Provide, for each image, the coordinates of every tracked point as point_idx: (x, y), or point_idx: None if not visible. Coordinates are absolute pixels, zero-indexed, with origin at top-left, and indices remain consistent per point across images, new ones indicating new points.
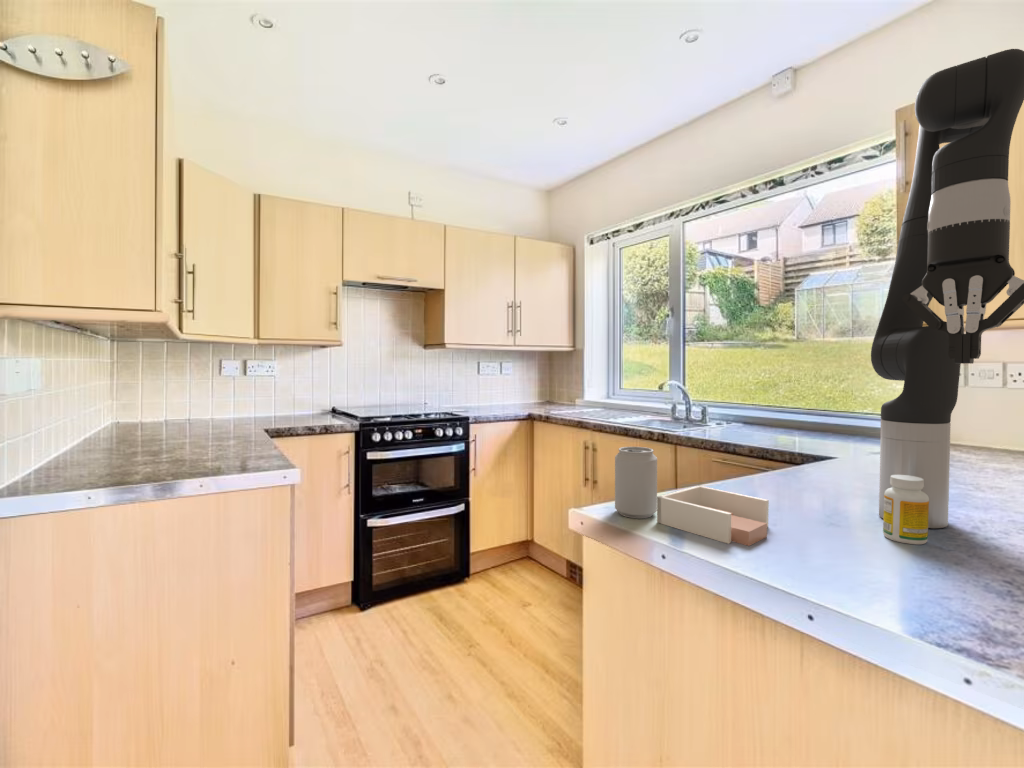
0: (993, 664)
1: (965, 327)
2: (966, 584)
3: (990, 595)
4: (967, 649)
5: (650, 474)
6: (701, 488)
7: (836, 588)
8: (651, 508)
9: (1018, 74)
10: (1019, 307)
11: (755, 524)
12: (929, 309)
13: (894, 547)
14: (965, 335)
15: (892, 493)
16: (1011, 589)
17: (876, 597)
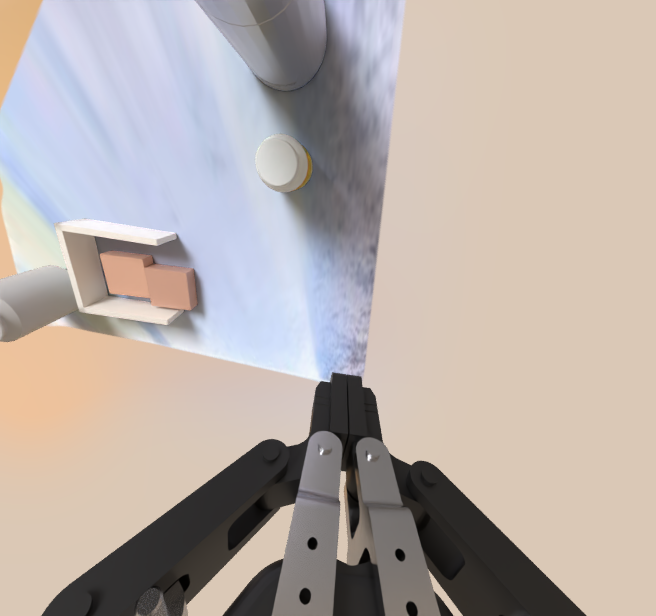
0: None
1: (345, 493)
2: (346, 278)
3: (359, 291)
4: None
5: (40, 316)
6: (65, 230)
7: (278, 345)
8: None
9: None
10: (514, 550)
11: (181, 285)
12: (214, 551)
13: (289, 212)
14: (345, 466)
15: (268, 185)
16: (373, 266)
17: (300, 343)
